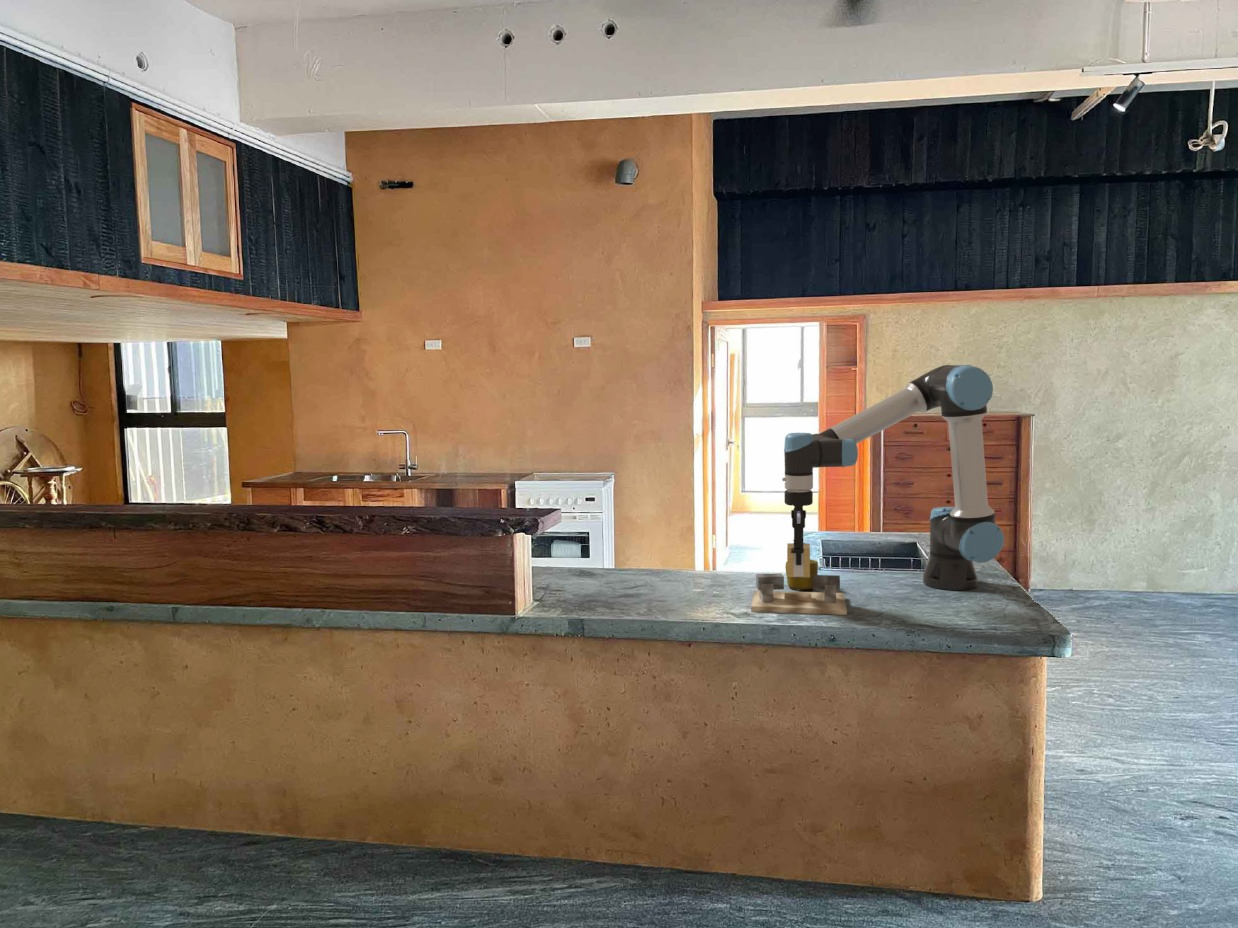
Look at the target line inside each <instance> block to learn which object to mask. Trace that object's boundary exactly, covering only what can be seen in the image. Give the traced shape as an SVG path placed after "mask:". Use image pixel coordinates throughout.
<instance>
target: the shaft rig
mask: <svg viewBox="0 0 1238 928" xmlns="http://www.w3.org/2000/svg"><path fill="white" fill-rule="evenodd" d="M755 575H756V576H755V577H756V578H755V580H756V581H755V585H756V586H755V587H756V588H757V590H753V594H752V599H751V604H750V610H751V613H778V614H779V613H780V614H781V613H782V614H809V615H810V614H811V615H813V614H815V615H838V616H839V615H842V616H845V615H848V608H847V604H846V598H845V593H843V592H837V591H840V590H841V577H840V575H839V574H838V575H835V574H834V575H830V574H818V575H813V589H812V590H815V591H816V590H818V591H819V592H815V591H812V592H811V591H810V592H809V591H784V589H785V576H784V574H783V573H778V572H777V573H756V574H755ZM775 590H776V591H775ZM778 590H780V591H778ZM820 591H823V592H820Z"/></svg>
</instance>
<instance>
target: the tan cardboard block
mask: <svg viewBox="0 0 1238 928" xmlns="http://www.w3.org/2000/svg"><path fill="white" fill-rule="evenodd" d="M786 544H787V545H786V546H787V548H786V549H787V550H786V553H787V556H786V557H787V558H786V560H787V561H786V562H787V575H786V578H787V577H794V576H793V553H791V551H793V550H794V542H793V543H790V542H789V543H788V542H787V543H786ZM803 549H804V552H803V553H804V577H810V559H811V543H806V544H803Z"/></svg>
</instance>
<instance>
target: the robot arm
mask: <svg viewBox="0 0 1238 928" xmlns="http://www.w3.org/2000/svg"><path fill="white" fill-rule="evenodd" d="M991 379H992V378H990V375H989V374H988V373H987V372H986V371H985V370H984V369H982V368H979V367H978V366H973V365H970V364H958V365H957V364H956V365H955V364H946V365H945V364H944V365H941V366H938V367H935V368H934V369H931V370H930V371H928V372H926V373H924V374H922V375H920V376H919V377H916V378H915V379H913V380H912V381H910V382H907V383H906V386H905V388H903V389H902V390H900V391H898V392H897V393H894V394H892V395H890V396H888V397H886V398H885V399H882V400H881V401H879V402H877V403H874V404H873V405H872V406H869V407H867V408H865V409H864V410H862V411H860V412H858V413H856V414H854V415H852V416H850V417H849V418H847V419H845V420H843V421H840V422H839V423H837V424H835V425H834V426H831V427H829V428H828V429H826V430H824V431H822V432H820V433H810V432H791V433H787V434H786V435H785V437H784V448H783V449H784V450H783V452H784V477H783V478H782V479H781V481H782V482H784V489H786V490H784V504H785V505H786V506H794V507H793V509H792V510H790V517H791V527H792V528H793V543H794V550H793V551H791V553H793V576H794V577H804V553H803V552H804V549H803V544H807V543H805V542H804V529H805V527H806V518H807V510H804V507H805V506H810V505H813V503H814V502H813V501H814V498H813V493H814V492H813V491H812V489H813V488H814V472H813V471H814V468H816V469H818V468H846V467H853V466H855V464H856V463H857V461H858V457H859V456H858V455H859V450H858V446H857V445H858V444H860V443H861V442H863V441H864V440H867V439H868V438H870V437H872V436H874V435H877V434H878V433H880V432H882V431H884V430H886V429H888V428H890V427H892V426H894V425H895V424H897V423H899V422H902V421H904V420H905V419H907V418H909V417H910V416H912V415H914V414H916V413H918V412H919V413H923V414H924V413H926V412H928V411H930V410H933V409H935V408H940V411H941V412H940V413H941V418H942V419H944V421H946V422H947V424H948V425H947V426H948V435H949V437H948V438H949V439H948V440H949V449H950V451H949V452H950V462H951V473H952V484H953V485H952V486H953V498H954V506H938V507H934V508H932V509H931V511H930V516H929V517H930V518H929V558H928V560H927V564H926V566H925V569H924V572H923V575H922V584H924V585H926V586H928V587H930V588H935V589H940V590H946V591H948V590H950V591H966V590H973V589H975V588H977V587H978V584H979V583H978V576H977V571H976V569H975V568H976V567H975V565H974V563H973V562H975V563H987V562H989V561H992V560H993V559H995V558H996V557H997V556H998V554H1000V552H1001V551H1002V550H1003V547H1004V545H1005V535H1004V532H1003V530H1002V529H1001V528H1000V526H999V525H998V524H997V523H996V512H995V509H993V508H992V507H991V506H990V505H989V499H988V488H987V474H986V461H985V450H984V449H985V447H984V435H983V434H984V433H983V422H982V421H983V418H984V417H986V415H987V413H988V407H987V405H988V403H989V401H990V400H991V399H992V397H993V392H994V385H993V381H992V380H991Z"/></svg>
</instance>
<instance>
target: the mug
mask: <svg viewBox="0 0 1238 928" xmlns="http://www.w3.org/2000/svg"><path fill="white" fill-rule="evenodd" d="M818 571H819V563H818V561H817V560H815V559H811V558H810V577H787V561H786V562H785V574H786V575H785V576H786V581H787V585H788V588H789V589H790V590H793V591H807V590H813V575H819V574H818Z"/></svg>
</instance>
